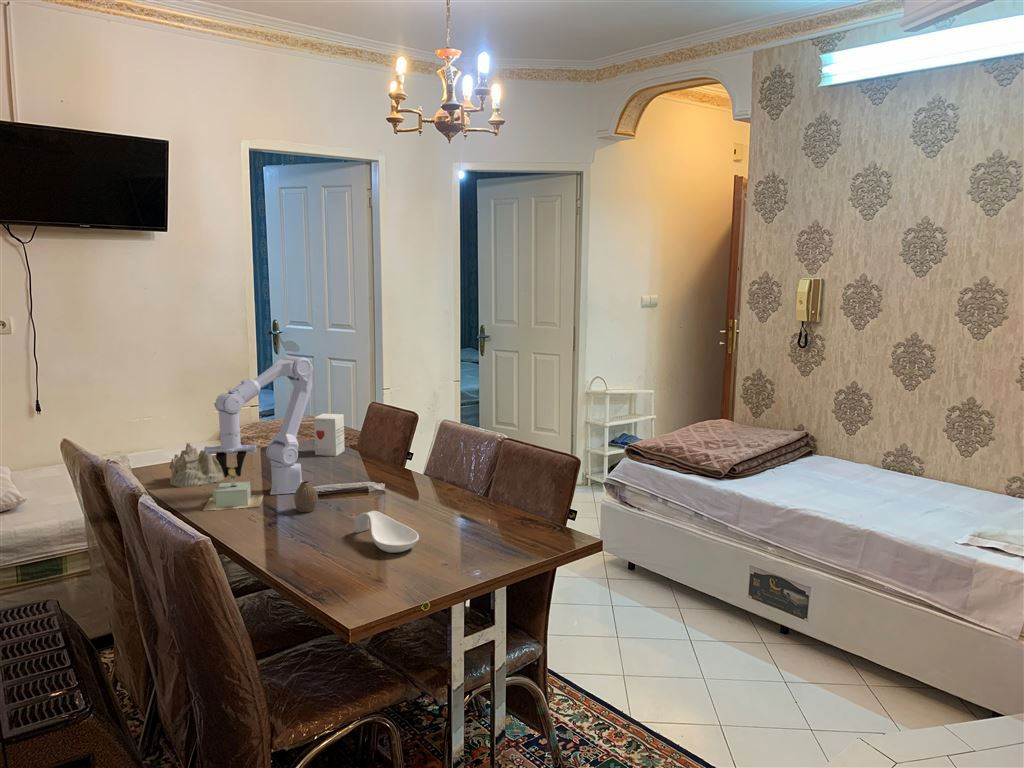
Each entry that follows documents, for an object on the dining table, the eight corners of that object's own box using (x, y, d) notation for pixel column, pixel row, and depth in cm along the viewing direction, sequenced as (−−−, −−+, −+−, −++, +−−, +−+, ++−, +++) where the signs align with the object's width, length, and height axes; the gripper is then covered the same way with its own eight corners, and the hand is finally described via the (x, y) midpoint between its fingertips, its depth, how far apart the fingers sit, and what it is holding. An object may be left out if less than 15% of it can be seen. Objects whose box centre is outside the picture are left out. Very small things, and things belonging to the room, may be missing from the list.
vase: (311, 514, 219) (310, 486, 218) (290, 513, 220) (288, 484, 219) (322, 507, 226) (321, 479, 224) (301, 506, 227) (300, 478, 226)
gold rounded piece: (246, 489, 233) (244, 463, 232) (243, 495, 227) (242, 469, 225) (224, 490, 232) (222, 465, 230) (220, 497, 225) (219, 470, 224)
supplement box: (314, 455, 288) (312, 417, 286) (323, 450, 297) (322, 413, 294) (336, 456, 287) (335, 418, 284) (345, 450, 295) (344, 413, 293)
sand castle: (227, 481, 253) (222, 438, 251) (175, 491, 243) (170, 446, 241) (215, 474, 265) (210, 432, 263) (166, 483, 256) (160, 440, 254)
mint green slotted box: (251, 496, 235) (250, 481, 234) (247, 505, 226) (247, 489, 225) (216, 498, 233) (215, 483, 232) (211, 507, 224) (210, 491, 223)
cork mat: (263, 495, 237) (263, 494, 237) (259, 507, 226) (259, 506, 226) (210, 499, 234) (210, 498, 234) (203, 511, 222) (203, 509, 222)
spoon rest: (428, 549, 192) (427, 523, 191) (389, 562, 184) (388, 534, 183) (377, 526, 209) (377, 502, 208) (340, 537, 202) (339, 511, 200)
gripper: (202, 436, 221) (205, 481, 223) (253, 434, 224) (256, 478, 226) (206, 431, 228) (209, 474, 230) (256, 429, 231) (258, 471, 233)
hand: (232, 476), depth 228 cm, fingers closed on gold rounded piece, 3 cm apart
